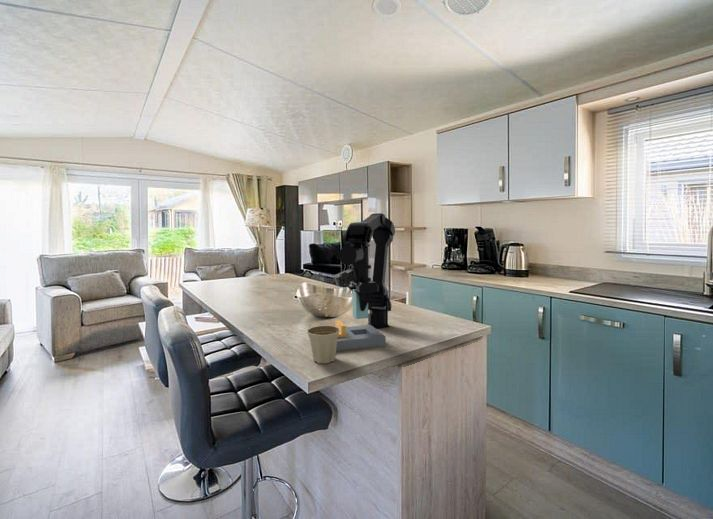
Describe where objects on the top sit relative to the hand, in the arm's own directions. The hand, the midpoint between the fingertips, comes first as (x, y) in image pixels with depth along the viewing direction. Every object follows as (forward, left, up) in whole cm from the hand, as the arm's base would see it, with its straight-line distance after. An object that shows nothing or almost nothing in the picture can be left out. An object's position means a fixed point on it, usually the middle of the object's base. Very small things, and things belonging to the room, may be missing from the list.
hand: (360, 309), depth 119 cm
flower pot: (+15, +13, -11) cm, 23 cm away
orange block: (+10, 0, -7) cm, 12 cm away
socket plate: (+4, 0, -10) cm, 11 cm away
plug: (0, 0, -3) cm, 2 cm away
